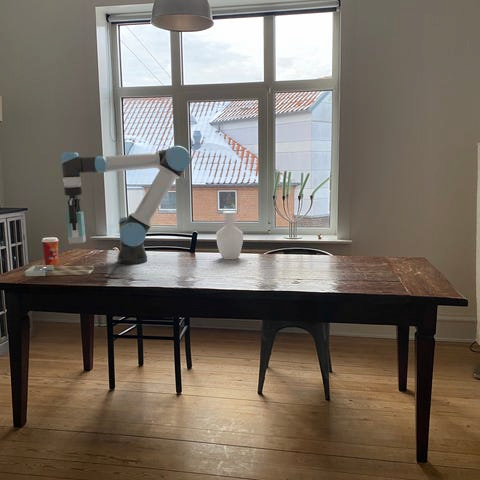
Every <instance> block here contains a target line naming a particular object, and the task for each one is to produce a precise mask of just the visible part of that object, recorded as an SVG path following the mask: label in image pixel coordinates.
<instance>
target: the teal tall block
mask: <svg viewBox="0 0 480 480" xmlns="http://www.w3.org/2000/svg"><path fill="white" fill-rule="evenodd" d="M76 215H77V223H78V233H79V237H72V227H71V223H69V222H70V219H69V211H68V212H66V213H65V217H66V218H65V219H66V228H67V238H68V239H67V241H68V244H84V243H85V242H86V241H87V236H86V228H85V227H86V226H85V225H86V224H85V216H84V211H81V212H77V213H76Z"/></svg>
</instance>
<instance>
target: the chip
mask: <svg viewBox="0 0 480 480" xmlns="http://www.w3.org/2000/svg"><path fill="white" fill-rule="evenodd" d="M38 266H39V267H37V268H43V271H44V270H45V273H47V271H48V270H46V266H41V265H38Z"/></svg>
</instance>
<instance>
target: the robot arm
mask: <svg viewBox="0 0 480 480" xmlns="http://www.w3.org/2000/svg"><path fill="white" fill-rule="evenodd" d="M60 157H61V169H62V170H61V171H62V172H61V173H62V180H61V181H62V182H63V187H64V188H63V191H64V196H66V197H67V196H69V199H68V200H67V204H68V212H69V219H70V222H69V223H71V227H72V237H79V233H78V223H77V215H76V213H77V212H82V210H81V209H82V208H81V199H80V198H79V196H81V195H82V194H83V191H82V179H81V174H102V173H108V172H109V173H110V172H122V171H124V172H125V171H132V170H133V171H134V170H147V169H158V170H159V171H158V172H157V174H156V176H155V177H154V179H153V180H152V183H151V184H150V186H149V188H148V189H147V191H146V193H145V194H144V196H143V198H142V199H141V200H140V203H139V204H138V206H137V208H136V209H135V211H134V212H132V213H129V215H128V216H127V217H125V216H124V217H120V218H119V221H118V225H119V244H120V247H119V250H118V255H117V257H116V261H117V263H119V264H125V265H134V264H136V265H137V264H143V263H146V262H148V255H147V253H146V250H145V246H144V241H145V240H146V238H147V234H148V232H149V230H150V229H151V227H152V223H151V221H152V219H153V218H154V216H155V214H156V212H157V210H158V209H159V207H160V206H161V204H162V202H163V201H164V199H165V198H166V196H167V194H168V193H169V192H170V189H171V187H172V186H173V183H174V182H175V181H176V180H177V179H180V178H181V176H182V175H183V173H184V172H185V170H186V169H188V168H189V166H190V164H191V159H192V158H191V154H190V152H189V151H188V150H187V148H185V147H184V146H181V145H173V146H171V147H168V148H166V149H162V150H156V151H155V152H150V153H149V152H148V153H147V152H146V153H136V154H124V155H123V154H121V155H108V156H104V155H103V156H100V155H99V156H98V155H97V156H80V155H79V153H78V152H63V153H61V156H60Z"/></svg>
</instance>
